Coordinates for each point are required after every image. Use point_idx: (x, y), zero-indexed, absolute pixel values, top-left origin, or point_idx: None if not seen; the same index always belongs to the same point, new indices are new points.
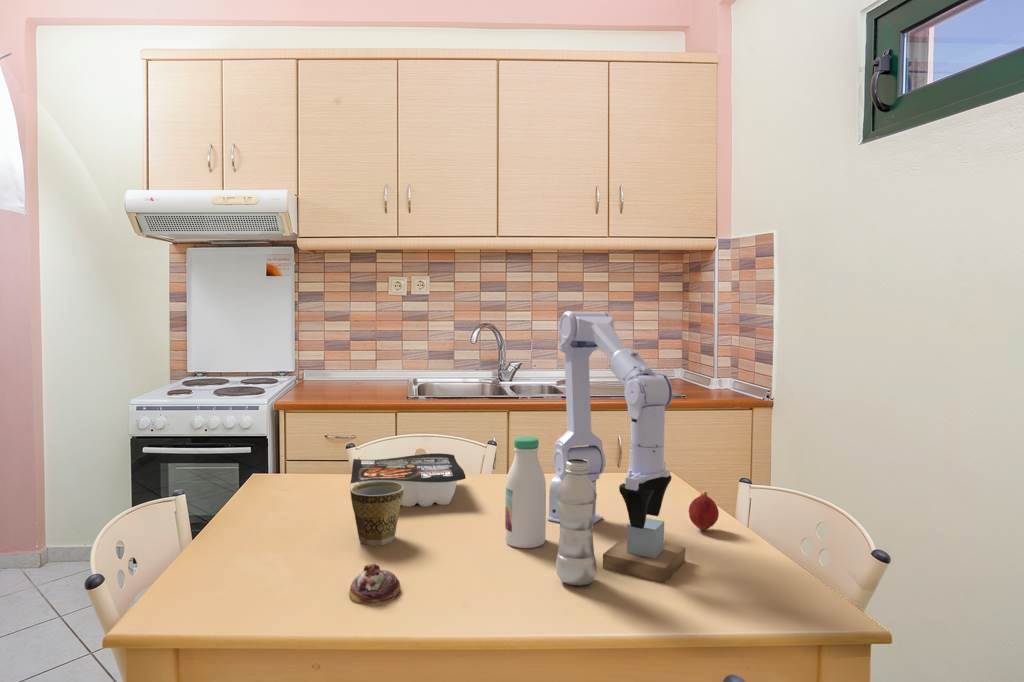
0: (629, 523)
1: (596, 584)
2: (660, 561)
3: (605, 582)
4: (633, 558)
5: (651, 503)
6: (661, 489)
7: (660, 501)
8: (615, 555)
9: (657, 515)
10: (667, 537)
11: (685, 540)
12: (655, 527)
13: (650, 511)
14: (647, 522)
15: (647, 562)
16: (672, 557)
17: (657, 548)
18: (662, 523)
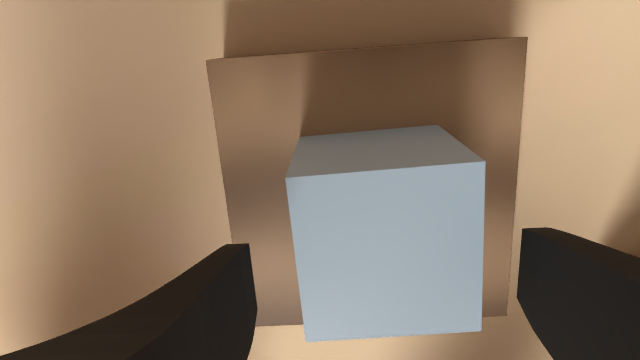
0: (459, 327)
1: (631, 242)
2: (458, 88)
3: (600, 225)
4: (487, 201)
5: (234, 333)
6: (171, 358)
7: (212, 284)
8: (495, 272)
9: (248, 245)
10: (32, 216)
11: (3, 143)
12: (444, 177)
13: (249, 300)
14: (378, 253)
15: (502, 133)
16: (376, 60)
17: (406, 134)
18: (326, 173)
